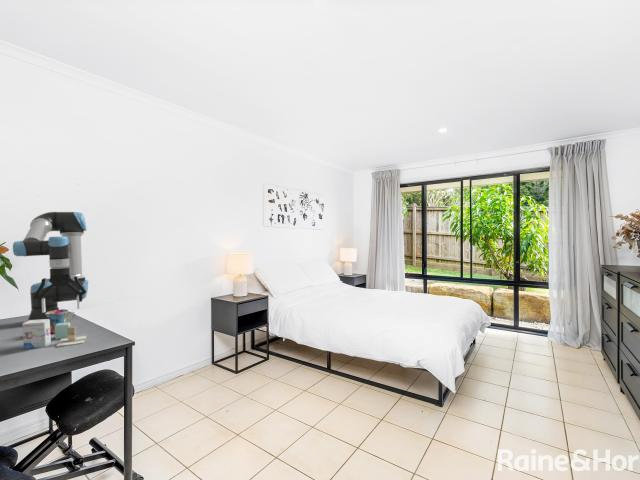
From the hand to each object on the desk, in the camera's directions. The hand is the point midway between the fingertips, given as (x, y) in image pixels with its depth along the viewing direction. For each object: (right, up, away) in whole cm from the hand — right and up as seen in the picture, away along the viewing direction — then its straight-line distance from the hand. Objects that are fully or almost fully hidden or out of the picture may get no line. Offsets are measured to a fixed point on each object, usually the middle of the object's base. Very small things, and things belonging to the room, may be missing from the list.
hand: (61, 310), depth 156 cm
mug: (-9, -14, +10) cm, 19 cm away
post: (+9, -14, -5) cm, 18 cm away
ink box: (-2, -14, -11) cm, 18 cm away
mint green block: (0, -14, +1) cm, 14 cm away
